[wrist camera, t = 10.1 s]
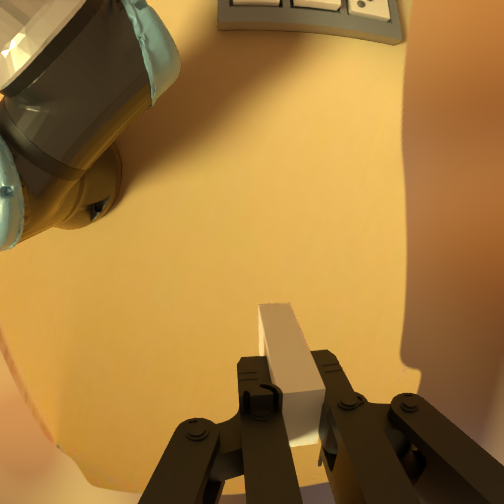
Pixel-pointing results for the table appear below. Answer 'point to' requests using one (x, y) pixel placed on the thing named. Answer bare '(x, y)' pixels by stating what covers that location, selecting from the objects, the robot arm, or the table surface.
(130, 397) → the table surface
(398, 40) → the keypad
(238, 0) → the key one
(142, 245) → the table surface
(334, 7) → the key two
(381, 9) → the key three
